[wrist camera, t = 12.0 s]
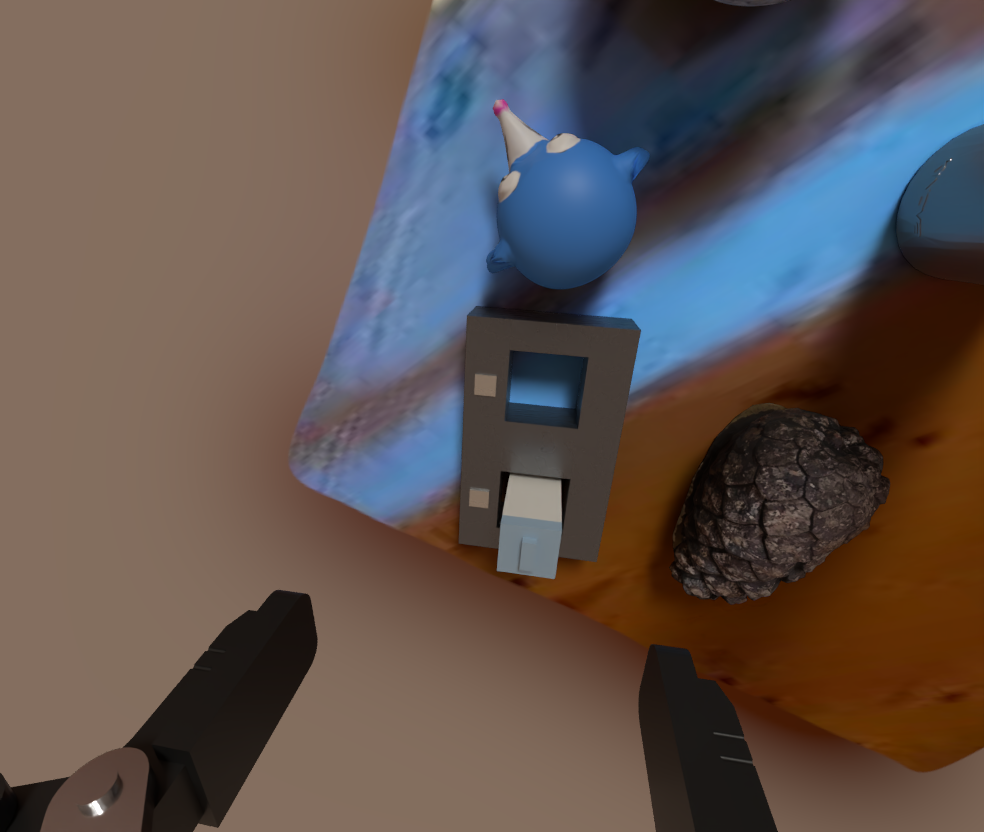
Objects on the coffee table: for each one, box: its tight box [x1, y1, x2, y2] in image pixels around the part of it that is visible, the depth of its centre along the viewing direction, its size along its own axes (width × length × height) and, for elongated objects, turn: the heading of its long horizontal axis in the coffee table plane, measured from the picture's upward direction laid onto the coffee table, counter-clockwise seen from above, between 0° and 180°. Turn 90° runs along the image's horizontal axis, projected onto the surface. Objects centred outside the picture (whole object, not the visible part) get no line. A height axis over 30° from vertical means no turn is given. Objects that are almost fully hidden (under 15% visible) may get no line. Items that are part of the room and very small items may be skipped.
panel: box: [459, 306, 641, 562], centre depth 37 cm, size 12×20×4 cm, turn 176°
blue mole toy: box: [486, 99, 650, 289], centre depth 28 cm, size 12×12×8 cm
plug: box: [497, 472, 562, 579], centre depth 36 cm, size 4×4×11 cm
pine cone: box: [669, 403, 890, 604], centre depth 34 cm, size 10×18×10 cm, turn 168°
